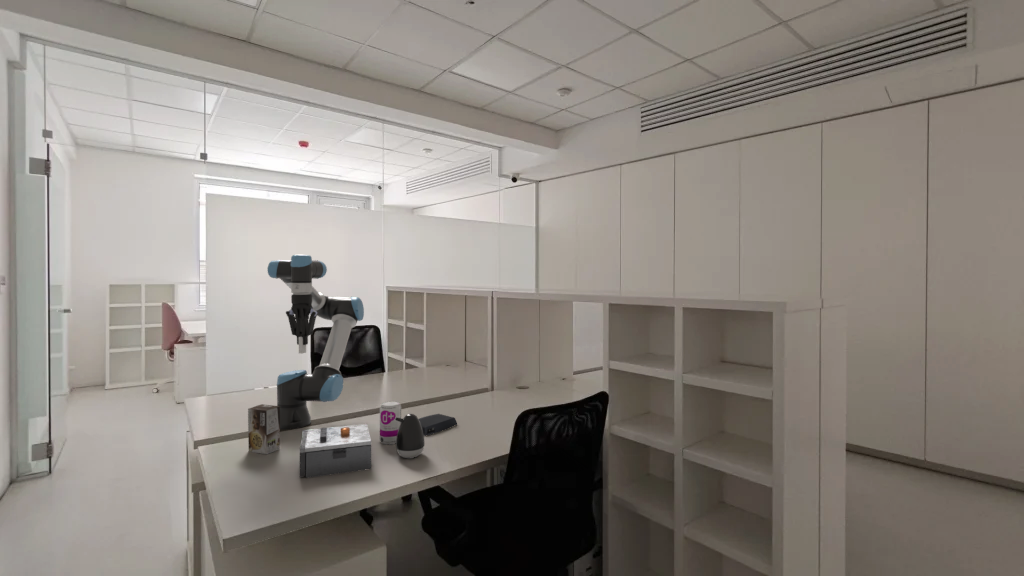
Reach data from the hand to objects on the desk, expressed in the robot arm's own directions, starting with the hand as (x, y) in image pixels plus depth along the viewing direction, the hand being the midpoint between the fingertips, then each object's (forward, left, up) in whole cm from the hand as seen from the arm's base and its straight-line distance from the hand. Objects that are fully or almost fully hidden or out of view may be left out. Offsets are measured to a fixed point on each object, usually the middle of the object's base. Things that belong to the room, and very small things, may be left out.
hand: (302, 352), depth 185 cm
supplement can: (+36, +3, -34) cm, 50 cm away
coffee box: (-6, -14, -35) cm, 38 cm away
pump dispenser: (+49, -10, -34) cm, 61 cm away
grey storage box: (+27, -20, -34) cm, 48 cm away
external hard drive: (+46, +22, -35) cm, 62 cm away
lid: (+26, -21, -34) cm, 47 cm away
